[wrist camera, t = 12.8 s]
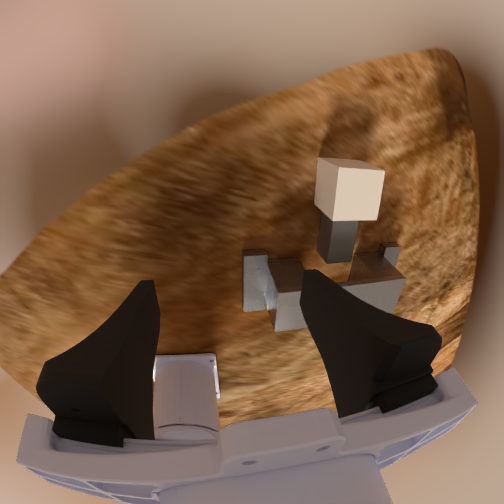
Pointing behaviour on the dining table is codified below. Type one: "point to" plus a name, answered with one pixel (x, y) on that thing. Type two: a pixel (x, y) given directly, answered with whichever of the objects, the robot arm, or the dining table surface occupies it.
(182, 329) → the dining table surface
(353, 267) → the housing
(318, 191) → the plug
